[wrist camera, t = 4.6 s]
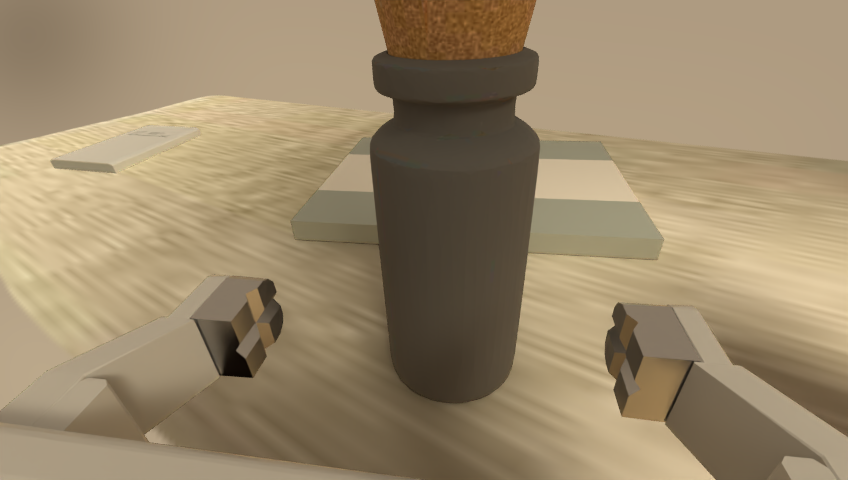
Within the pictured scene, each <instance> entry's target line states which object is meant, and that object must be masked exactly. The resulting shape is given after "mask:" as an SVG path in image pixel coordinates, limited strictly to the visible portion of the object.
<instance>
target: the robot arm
mask: <svg viewBox="0 0 848 480" xmlns="http://www.w3.org/2000/svg"><path fill="white" fill-rule="evenodd" d="M275 294H276V289H275V286H274V283H273V281H271V280H269V279H263V278H252V277H241V276H226V275H215V274H214V275H211V276H208V277H207V278H206V279H205V280H204V281H203V282H202V283H201V284H200V285H199V286H198V287H197V288H196V289H195V290H194V291H193V292H192V293H191V294H190V295H189V296H188V297H187V298H186V299H185V300H184V301H183V302H182V303H181V304H180V305H179V306H178V307H177V308H176V309H175V310H174V311H173V312H172V313H171V314H170V315H169V316H168V317H160V318H158V319H156V320H154V321H152V322H150V323H148V324H145V325H143V326H141V327H139V328H137V329H135V330H133V331H130V332H128V333H126V334H124V335H122V336H120V337H118V338H116V339H113V340H111V341H109V342H107V343H105V344H103V345H101V346H99V347H96V348H94V349H92V350H90V351H88V352H86V353H84V354H82V355H79V356H77V357H75V358H73V359H71V360H69V361H67V362H64V363H62V364H60V365H58V366H56V367H54V368H52V369H50V370H47V371H46V372H45V373H43V374H42V375H41V376H40V377H39V378H38V379H37V380H35V381H34V382H33V383H32V384H31V385H30V386H28V387H27V388H26V389H25V390H24V391H23V392H21V393H20V394H19V395H18V396H17V397H16V398H14V399H13V400H12V401H11V402H10V403H9V404H8V405H6V406H5V407H4V408H3V409H2V410H1V411H0V480H423V479H416V478H408V477H401V476H393V475H386V474H379V473H371V472H364V471H357V470H349V469H342V468H334V467H327V466H320V465H312V464H305V463H297V462H290V461H283V460H275V459H268V458H261V457H253V456H246V455H238V454H231V453H224V452H216V451H209V450H202V449H194V448H187V447H179V446H172V445H165V444H156V443H150V442H149V441H148V440H147V438H146V437H145V435H144V434H146V433H147V432H148V431H150V430H151V429H152V428H154V427H155V426H156V425H158V424H159V423H160V422H162V421H163V420H164V419H166V418H167V417H168V416H170V415H171V414H172V413H174V412H175V411H176V410H178V409H179V408H180V407H181V406H183V405H184V404H185V403H187V402H188V401H189V400H191V399H192V398H193V397H195V396H196V395H197V394H199V393H200V392H201V391H203V390H204V389H205V388H207V387H208V386H209V385H211V384H212V383H213V382H215V381H216V380H217V379H219V378H220V375H222V376H235V377H248V378H253V377H254V376H255V374H256V372H257V371H258V369H259V368H260V366H261V364H262V363H263V361H264V360H265V358H266V351H265V348H267V347H268V346H270V345H272V344H273V343H275V342H276V340H277V338H278V336H279V335H280V332H281V328H282V324H283V312H282V309H281V306H280V305H279V304H278V303H277V302H276V301H275V300H274V299H273V297H274V296H275ZM612 317H613V320H614V323H615V326H614V327H612V328H611V329H610V330H608V332H607V337H606V341H605V359H606V365H607V368H608V372H609V373H610V374H611V375H612V376H613V377H614V378H615V379H616V383H615V387H614V393H615V396H616V399H617V403H618V406H619V409H620V413H621V416H622V417H628V418H636V419H644V420H651V421H659V422H666V423H665V425H666V426H667V427H668V428H669V429H670V430H671V431H672V432H673V434H674V435H675V436H676V437H677V438H678V439H679V440H680V441H681V442H682V443H683V444H684V445H685V447H686V448H687V449H688V450H689V451H690V452H691V453H692V454H693V455H694V456H695V457H696V459H697V460H698V461H699V462H700V463H701V464H702V465H703V466H704V467H705V468H706V469H707V470H708V472H709V473H710V474H711V475H712V476H713V477H714V478H715V479H716V480H848V437H847V436H845V435H844V434H842V433H841V432H839V431H838V430H836V429H835V428H833V427H832V426H830V425H829V424H827V423H826V422H825V421H823V420H822V419H820V418H819V417H817V416H816V415H814V414H813V413H811V412H810V411H808V410H807V409H805V408H804V407H802V406H801V405H799V404H798V403H796V402H795V401H793V400H792V399H790V398H789V397H787V396H786V395H784V394H783V393H781V392H780V391H778V390H777V389H775V388H774V387H772V386H771V385H769V384H768V383H766V382H765V381H763V380H762V379H760V378H759V377H757V376H756V375H754V374H753V373H751V372H750V371H748V370H747V369H745V368H744V367H742V366H738V365H733V364H732V363H731V361H730V360H729V358H728V356H727V355H726V353H725V352H724V350H723V349H722V347H721V345H720V344H719V342H718V341H717V339H716V337H715V336H714V334H713V333H712V331H711V330H710V328H709V326H708V325H707V323H706V322H705V320H704V318H703V317H702V315H701V314H700V312H699V310H698V309H696V308H695V307H693V306H680V305H667V306H665V305H652V304H635V303H619V302H618V303H617V305H616V306H615V308H614V311H613V315H612Z"/></svg>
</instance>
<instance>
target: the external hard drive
mask: <svg viewBox="0 0 848 480" xmlns="http://www.w3.org/2000/svg"><path fill="white" fill-rule="evenodd" d="M200 135H201V132H200V129H198V128H195V127H175V126H157V125H147V126H144V127H141V128H139V129H136V130H133V131H130V132H127V133H125V134H122V135H119V136H116V137H113V138H110V139H107V140H105V141H102V142H99V143H96V144H93V145H91V146H88V147H85V148H82V149H79V150H76V151H73V152H71V153H68V154H65V155H62V156H59V157H56V158H54V159H51V163H52V165H53V167H54V168H58V169H71V170H83V171H95V172H107V173H118V172H120V171H123V170H125V169H127V168H129V167H131V166H134V165H136V164H138V163H140V162H142V161H145V160H147V159H149V158H151V157H154V156H156V155H158V154H160V153H162V152H165V151H167V150H169V149H171V148H174V147H176V146H178V145H180V144H182V143H185V142H187V141H189V140H191V139H194V138H196V137H198V136H200Z"/></svg>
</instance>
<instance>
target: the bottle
mask: <svg viewBox="0 0 848 480" xmlns="http://www.w3.org/2000/svg"><path fill="white" fill-rule="evenodd" d="M535 3H536V0H375V4H376V8H377V12H378V16H379V20H380V23H381V27H382V31H383V35H384V38H385V43H386V46H387V51H384V52H382V53H379V54H377V55H376V56H374V58H373V60H372V70H373V81H374V86H375V89H376V90H377V91H378V92H379V93H380V94H382V95H384V96H387V97H390V98H393V106H394V118H392V119H391V120H389V121H388V122H386V123H385V124H384V125H382V126H381V127H380V128H379V129H378V131H377V132H376V133H375V134H374V135H373V137H372V139H371V142H370V162H371V172H372V182H373V192H374V201H375V211H376V221H377V231H378V241H379V250H380V259H381V268H382V277H383V286H384V295H385V304H386V313H387V322H388V331H389V340H390V349H391V355H392V360H393V364H394V367H395V369H396V372H397V374H398V375H399V377H400V378H401V380H402V381H403V382H404V383H405V384H406V385H407V386H408V387H409V388H410V389H412V390H413V391H415V392H416V393H418V394H420V395H422V396H424V397H427V398H429V399H432V400H436V401H440V402H449V403H462V402H468V401H472V400H477V399H480V398H482V397H484V396H487V395H488V394H490V393H491V392H493V391H494V390H496V389H497V388H498V387H500V386H501V385H502V384H503V383H504V381H505V380H506V378H507V377H508V375H509V373H510V370H511V368H512V364H513V359H514V354H515V347H516V340H517V332H518V325H519V317H520V309H521V302H522V294H523V286H524V278H525V271H526V263H527V255H528V248H529V239H530V231H531V223H532V215H533V207H534V198H535V190H536V182H537V174H538V164H539V154H540V140H539V138H538V136H537V134H536V133H535V132H534V130H533V129H532V128H531V127H530V126H529V125H528V124H526V123H525V122H524V121H522V120H521V119H519V118H518V117H516V116H515V103H516V97H517V96H519V95H522V94H524V93H526V92H528V91H530V90H531V89H532V88H534V86H535V84H536V80H537V73H538V64H539V56H538V54H537V53H536V52H535V51H533V50H531V49H528V48H526V47H523V46H524V42H525V39H526V36H527V32H528V28H529V25H530V21H531V18H532V14H533V10H534V7H535Z"/></svg>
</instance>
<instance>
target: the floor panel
mask: <svg viewBox="0 0 848 480" xmlns="http://www.w3.org/2000/svg"><path fill="white" fill-rule="evenodd" d="M371 139H372V138H362V139H361V140H360V141H359V143H358V144H357V145H356V146H355V147H354V148H353V149H352V151H351V152H350V153H349V154H348V155H347V156H346V158H345V159H344V160H343V161H342V162H341V163H340V164H339V166H338V167H337V168H336V169H335V170H334V171H333V173H332V174H331V175H330V176H329V177H328V178H327V179H326V181H325V182H324V183H323V184H322V185H321V186H320V188H319V189H318V190H317V191H316V192H315V193H314V194H313V196H312V197H311V198H310V199H309V200H308V201H307V203H306V204H305V205H304V206H303V207H302V208H301V209H300V211H299V212H298V213H297V214H296V215H295V216H294V218H293V219H292V220H291V225H292V229H293V233H294V238H295V239H297V240H315V241H333V242H351V243H368V244H379V241H378V231H377V221H376V211H375V201H374V192H373V182H372V172H371V162H370V142H371ZM663 241H664V238H663V237H662V235H661V234H660V232H659V231H658V229H657V228H656V226H655V225H654V223H653V222H652V220H651V219H650V217H649V215H648V214H647V212H646V211H645V209H644V208H643V206H642V205H641V203H640V202H639V200H638V199H637V197H636V195H635V194H634V192H633V191H632V189H631V188H630V186H629V185H628V183H627V182H626V180H625V179H624V177H623V176H622V174H621V172H620V171H619V169H618V168H617V166H616V165H615V163H614V162H613V160H612V159H611V157H610V156H609V154H608V152H607V151H606V149H605V148H604V146H603V145H602V143H601V142H587V141H540V154H539V164H538V174H537V182H536V190H535V198H534V207H533V215H532V223H531V231H530V239H529V248H528V253H546V254H563V255H581V256H599V257H617V258H634V259H652V260H657V259H658V256H659V253H660V250H661V247H662V244H663Z"/></svg>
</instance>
